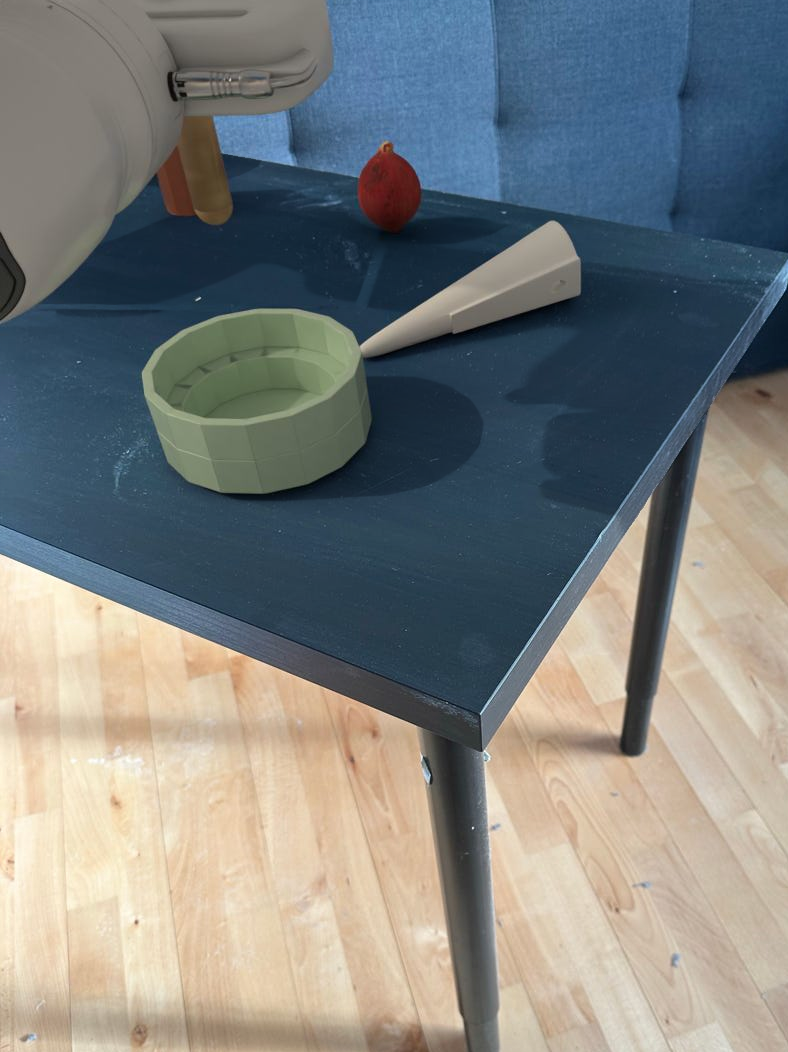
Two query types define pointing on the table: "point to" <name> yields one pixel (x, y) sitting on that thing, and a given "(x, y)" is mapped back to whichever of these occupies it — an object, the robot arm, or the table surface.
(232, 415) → the bowl
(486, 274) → the long cone
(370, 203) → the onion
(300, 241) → the table surface
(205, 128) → the stick
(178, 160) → the holder
